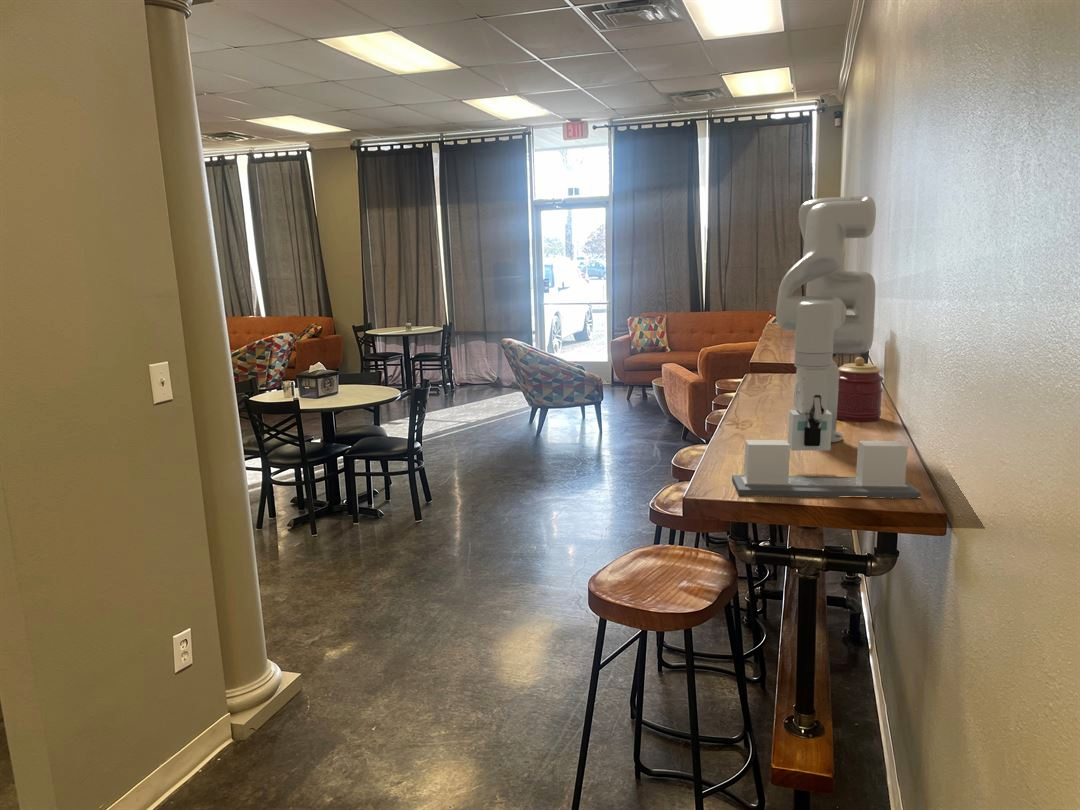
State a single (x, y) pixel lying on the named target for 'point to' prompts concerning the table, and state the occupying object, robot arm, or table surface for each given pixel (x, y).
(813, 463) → the table surface
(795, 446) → the block
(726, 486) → the table surface
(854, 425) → the table surface
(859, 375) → the canister
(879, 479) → the mounted modules
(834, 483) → the metal rail
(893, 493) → the rail board
